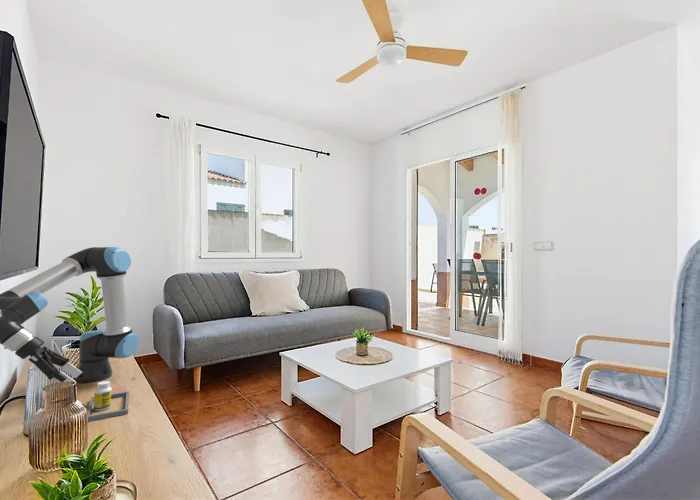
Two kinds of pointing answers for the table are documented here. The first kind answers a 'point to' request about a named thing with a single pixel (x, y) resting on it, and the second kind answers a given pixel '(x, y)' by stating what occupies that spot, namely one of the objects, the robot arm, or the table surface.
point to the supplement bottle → (102, 396)
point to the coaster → (118, 389)
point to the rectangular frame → (109, 414)
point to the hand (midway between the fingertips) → (76, 380)
